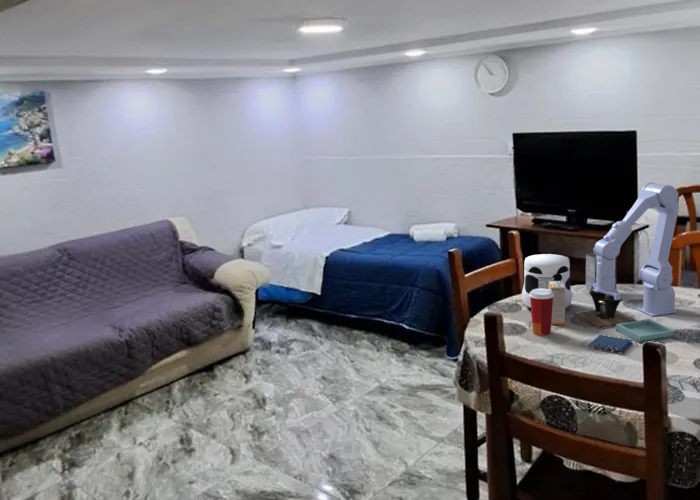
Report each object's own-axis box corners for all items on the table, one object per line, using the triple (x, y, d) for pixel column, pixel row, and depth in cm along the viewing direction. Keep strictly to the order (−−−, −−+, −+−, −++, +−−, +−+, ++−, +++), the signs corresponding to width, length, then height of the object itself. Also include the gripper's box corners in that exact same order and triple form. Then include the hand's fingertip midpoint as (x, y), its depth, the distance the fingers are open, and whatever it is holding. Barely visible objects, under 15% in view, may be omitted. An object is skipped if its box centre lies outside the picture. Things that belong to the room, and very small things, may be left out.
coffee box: (606, 290, 250) (607, 250, 246) (616, 295, 244) (617, 253, 240) (584, 293, 248) (585, 252, 244) (594, 298, 242) (595, 256, 238)
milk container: (551, 297, 247) (551, 251, 243) (582, 309, 231) (583, 260, 227) (512, 304, 241) (511, 257, 237) (541, 318, 225) (541, 268, 221)
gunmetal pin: (606, 316, 223) (607, 297, 221) (614, 320, 218) (615, 301, 217) (595, 318, 222) (595, 299, 220) (602, 322, 218) (603, 303, 216)
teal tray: (648, 325, 212) (648, 318, 211) (674, 337, 200) (674, 331, 200) (615, 330, 210) (615, 324, 209) (639, 343, 198) (639, 336, 198)
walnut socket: (611, 310, 228) (611, 307, 228) (636, 322, 215) (636, 319, 215) (574, 315, 225) (574, 312, 225) (598, 328, 212) (598, 325, 212)
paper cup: (554, 328, 215) (554, 288, 211) (553, 337, 208) (553, 295, 204) (529, 327, 217) (529, 287, 214) (528, 336, 210) (527, 294, 207)
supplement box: (565, 324, 218) (565, 287, 215) (550, 324, 219) (550, 287, 216) (562, 316, 225) (562, 280, 222) (548, 316, 226) (548, 280, 223)
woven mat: (598, 339, 205) (598, 333, 205) (633, 345, 198) (633, 339, 198) (586, 350, 197) (586, 343, 197) (622, 356, 191) (622, 350, 190)
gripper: (582, 271, 223) (582, 309, 226) (607, 282, 209) (607, 322, 212) (601, 269, 224) (600, 306, 227) (627, 279, 210) (626, 319, 213)
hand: (604, 314), depth 220 cm, fingers open, 6 cm apart
